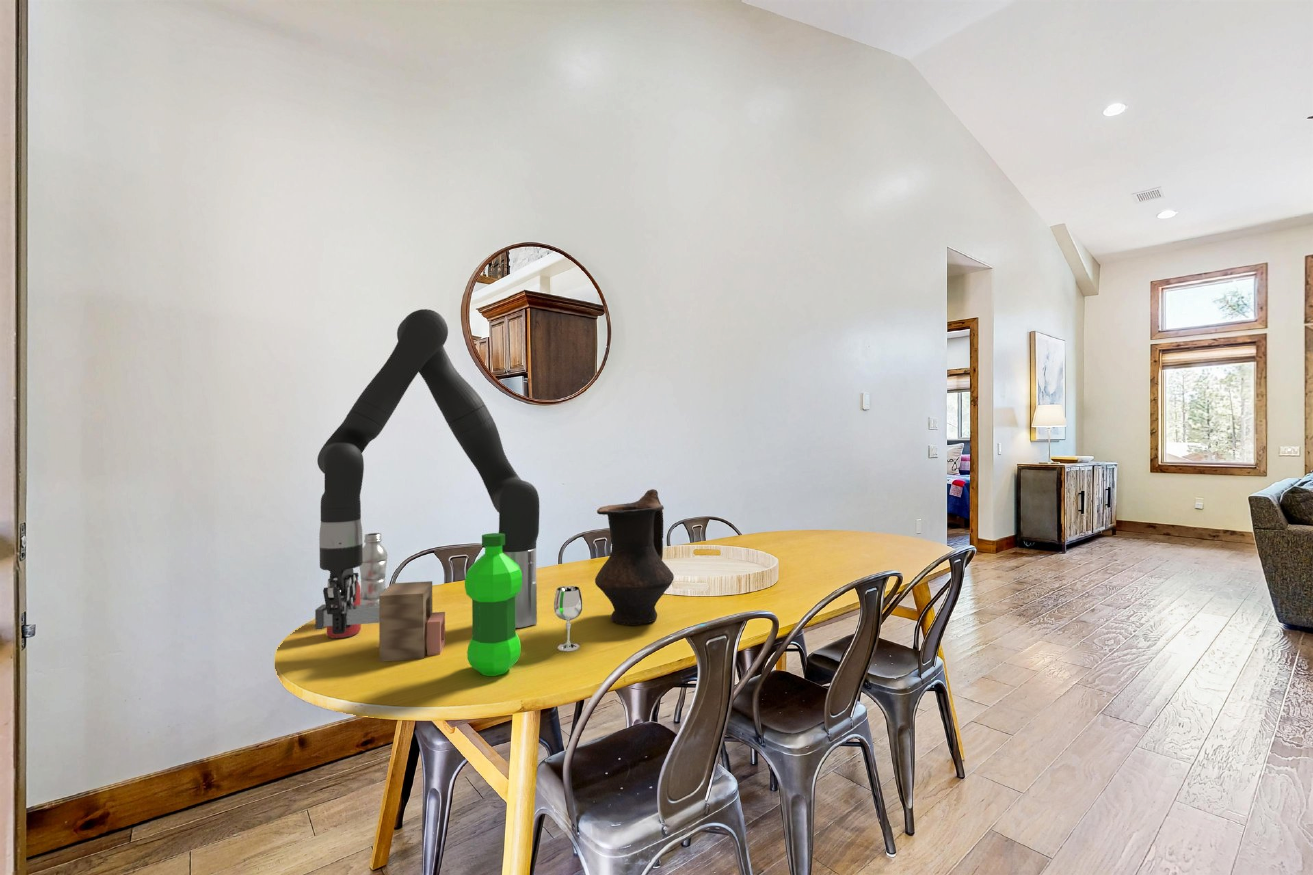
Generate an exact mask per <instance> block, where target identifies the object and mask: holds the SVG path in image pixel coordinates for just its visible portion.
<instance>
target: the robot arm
mask: <svg viewBox="0 0 1313 875" xmlns="http://www.w3.org/2000/svg"><path fill="white" fill-rule="evenodd" d="M396 332H397V333H396V338H397V343H396V345H395V347H394V348H393V350H392V351H391V353H390V356H389V357H388V358H387V360H386V362H385V363H384V364H383V366H382V367H381V368H380V369H379V371H378V372H377V373H376V374H375V375H374V377H373V378H372V380H371V381H370V382H369V383H368V384H367V386H366V387H365V388H364V390H363V391H362V392H361V394H360V395H359V397H358V398H357V399H356V400H355V403H354V404H353V406H352V407H351V409H350V410H349V411H348V413H347V415H346V417H345V418H344V420H343V421H342V423H340V425H339V426H338V427H337V429H336V430H334V432H333V433H332V434H331V435H330V437H329V438H328V439H327V440H326V442H325V443H324V444H323V445H322V447H321V449H320V450H319V452H318V455H317V465H318V468H319V470H320V471H321V472H322V473H323V474H324V492H323V494H322V495H321V498H320V527H319V536H318V537H319V539H318V540H319V542H318V543H319V545H318V546H319V547H318V548H319V568H320V569H321V570H323V571H328V572H329V578H328V579H327V587H323V590H322V593H323V599H324V603H325V604H326V609H327V614H331V615H332V631H333V634H343V633H344V632H345V631H346V628H349V627H350V626H351V625H346V606H349V605H353V602H355V601H356V592H357V583H359V575H360V574H359V572H354V569H355V568H358V567H359V566H361V565H362V563H363V547H364V546H363V543H364V542H363V527H362V518H361V517H362V514H361V513H362V512H361V509H362V508H361V506H362V505H361V491H362V486H363V480H364V471H365V464H364V456H363V452H364V451H365V450H366V448H367V446H369V444H370V443H371V441H373V440H375V439H376V438H377V437H378V436H379V435H380V434H381V433H382V431H383V429H384V428H385V426H386V424H387V423H388V422H389V420H390V418H391V417H392V415H393V414H394V411H395V410H396V408H397V406H398V405H399V403H400V402H401V400H402V398H403V397H404V395H405V393H406V391H407V390H408V388H409V387H410V385H411V384H412V382H413V380H414V379H415V378H416V377H417V375H418V374H419V375H420V376H421V378H422V379H423V381H424V382H425V384H426V386H427V388H428V389H429V391H430V393H431V396H432V398H433V399H434V401H435V403H436V405H437V407H438V409H439V410H440V413H441V414H442V416H443V417H444V420H445V422H446V424H447V426H448V428H449V429H450V430H451V433H452V434H453V436H454V438H455V439H456V441H457V443H458V444H459V445H460V447H461V448H462V450H463V451H464V453H465V455H466V456H467V458H468V459H469V460H470V462H471V463H472V465H473V466H474V467H475V469H476V470H477V472H478V474H479V476H480V477H481V480H482V483H483V484H484V487H485V489H486V491H487V493H488V496H489V498H490V500H491V503H492V506H493V507H494V509H495V510H496V511H497V513H498V517H499V518H498V533H503V534H505V545H502V553H504V554H505V555H506V556H508V557H509V558H510V559H512V560H513V561H514V562H515V563H516V564H517V565H519V567H520V570H521V573H522V586H521V591H520V592H519V593H518V594H517V595H516V596H515V629H519V628H525V627H529V626H530V627H531V626H532V625H537V623H538V621H537V620H538V618H537V617H538V607H537V605H538V600H537V597H538V596H537V594H538V593H537V590H538V587H537V583H538V582H537V581H538V580H537V541H538V540H537V539H538V537H539V532H540V497H539V493H538V491H537V489H536V487H535V486H534V485H533V484H532V483H531V482H528V481H526V480H522V479H521V477H520V476H519V474H517V472H516V471H515V469H514V467H513V466H512V465H511V463H510V461H509V459H508V458H507V457H508V456H506V454H505V451H504V449H503V448H504V446H503V444H502V439H501V436H500V434H499V430H498V427H497V425H496V423H495V422H496V421H495V420H494V418H493V417H492V415H491V413H490V411H489V409H488V407H487V405H486V404H485V402H484V401H483V399H482V397H481V396H480V395H479V394H478V392H477V391H476V390H475V389H474V388H473V386H471V384H469V382H468V381H467V380H466V379H465V378H464V377H462V375H461V374H460V373H459V372H458V371H457V368H455V367H454V365H453V363H452V361H451V359H450V358H449V355H448V354H447V351H446V349H445V347H444V345H445V343H446V342H447V340H448V334H449V329H448V324H447V322H446V320H445V318H444V317H443V316H442V315H441V314H440V313H439V312H436V311H435V310H433V309H426V308H425V309H423V308H422V309H421V308H420V309H417V310H414V311H413V312H411V313H410V314H408V315H407V316H406V317H405V318H404V319H403V320H401V322H400V324H399V325H398V327H397V331H396ZM359 568H360V567H359ZM335 605H337V607H335Z"/></svg>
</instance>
